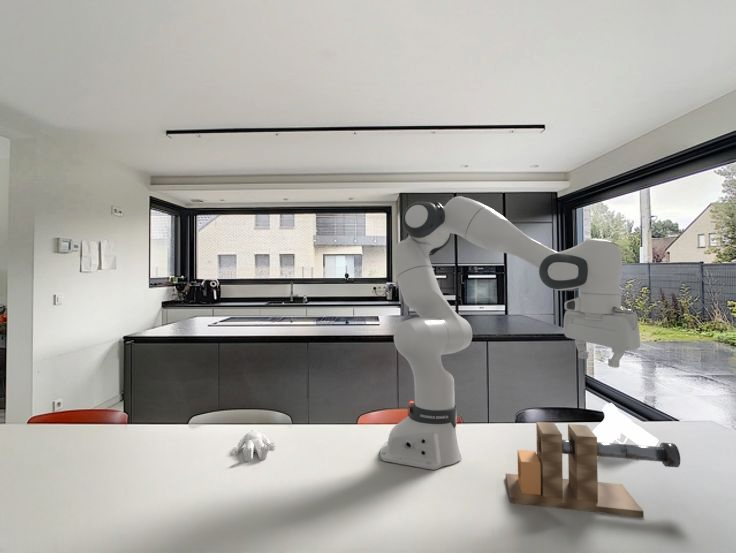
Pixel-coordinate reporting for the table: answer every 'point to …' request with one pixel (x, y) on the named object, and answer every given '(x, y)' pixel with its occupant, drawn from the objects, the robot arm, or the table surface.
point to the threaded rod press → (572, 476)
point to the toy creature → (254, 445)
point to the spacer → (529, 472)
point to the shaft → (632, 452)
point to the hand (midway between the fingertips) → (597, 362)
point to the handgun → (621, 428)
